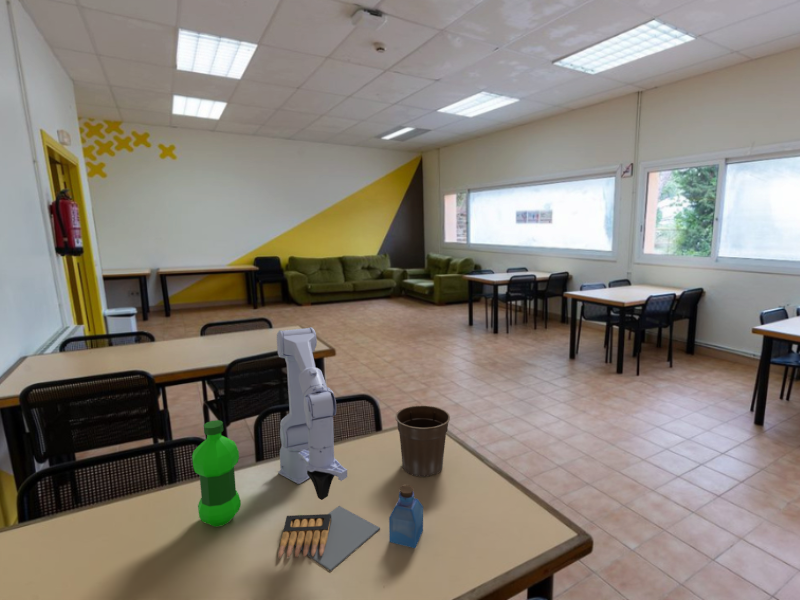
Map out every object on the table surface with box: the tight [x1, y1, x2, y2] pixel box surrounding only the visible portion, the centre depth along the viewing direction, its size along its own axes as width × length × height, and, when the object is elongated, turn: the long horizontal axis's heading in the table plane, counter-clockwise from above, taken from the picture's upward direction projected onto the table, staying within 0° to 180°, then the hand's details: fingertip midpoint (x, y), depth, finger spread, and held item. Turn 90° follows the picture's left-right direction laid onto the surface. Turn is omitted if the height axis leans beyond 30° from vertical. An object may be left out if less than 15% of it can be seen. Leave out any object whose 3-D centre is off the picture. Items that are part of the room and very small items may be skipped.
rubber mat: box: [294, 505, 381, 572], centre depth 100 cm, size 14×16×1 cm
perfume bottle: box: [388, 484, 424, 549], centre depth 99 cm, size 6×6×12 cm
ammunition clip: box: [278, 513, 331, 559], centre depth 98 cm, size 11×2×12 cm
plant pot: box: [394, 405, 451, 478], centre depth 128 cm, size 16×16×16 cm
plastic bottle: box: [191, 419, 242, 528], centre depth 104 cm, size 10×10×25 cm
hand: (323, 496), depth 101 cm, fingers closed
